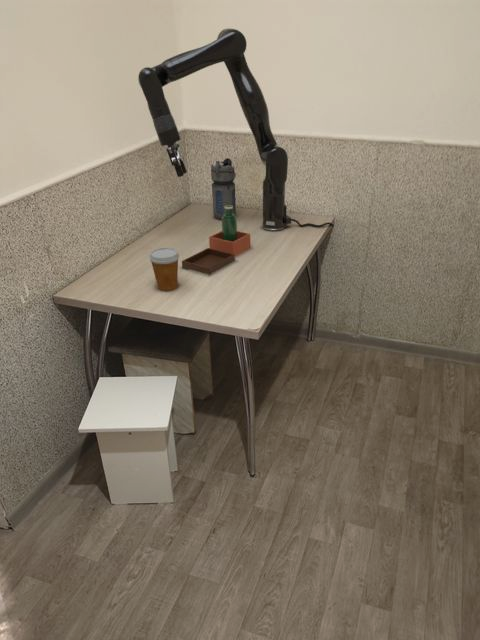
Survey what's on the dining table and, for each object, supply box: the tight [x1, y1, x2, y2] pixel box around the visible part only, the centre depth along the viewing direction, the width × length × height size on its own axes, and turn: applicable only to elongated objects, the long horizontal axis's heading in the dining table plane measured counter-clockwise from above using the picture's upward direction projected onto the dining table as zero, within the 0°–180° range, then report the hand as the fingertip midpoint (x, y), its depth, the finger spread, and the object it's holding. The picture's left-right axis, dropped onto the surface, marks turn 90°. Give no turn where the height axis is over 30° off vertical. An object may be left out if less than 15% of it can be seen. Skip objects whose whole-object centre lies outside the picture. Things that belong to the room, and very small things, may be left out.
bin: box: [208, 230, 251, 257], centre depth 195 cm, size 11×11×6 cm
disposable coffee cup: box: [148, 247, 180, 292], centre depth 165 cm, size 10×10×12 cm
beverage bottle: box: [210, 157, 237, 221], centre depth 224 cm, size 10×13×25 cm
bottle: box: [221, 205, 238, 242], centre depth 192 cm, size 6×6×16 cm
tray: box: [181, 247, 236, 277], centre depth 183 cm, size 15×12×3 cm
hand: (182, 174), depth 189 cm, fingers open, 8 cm apart
